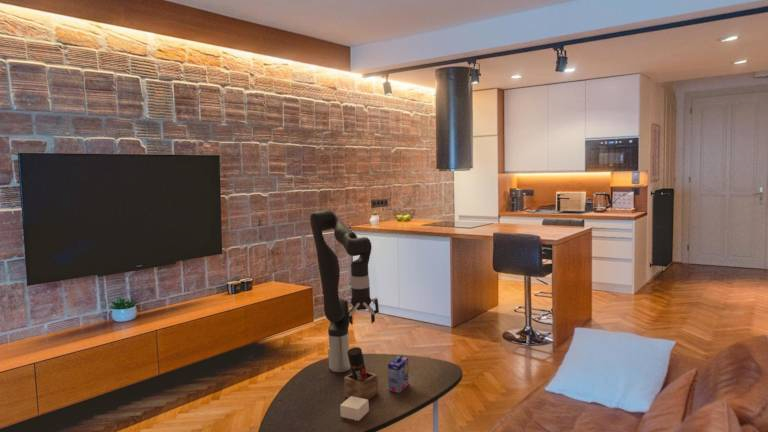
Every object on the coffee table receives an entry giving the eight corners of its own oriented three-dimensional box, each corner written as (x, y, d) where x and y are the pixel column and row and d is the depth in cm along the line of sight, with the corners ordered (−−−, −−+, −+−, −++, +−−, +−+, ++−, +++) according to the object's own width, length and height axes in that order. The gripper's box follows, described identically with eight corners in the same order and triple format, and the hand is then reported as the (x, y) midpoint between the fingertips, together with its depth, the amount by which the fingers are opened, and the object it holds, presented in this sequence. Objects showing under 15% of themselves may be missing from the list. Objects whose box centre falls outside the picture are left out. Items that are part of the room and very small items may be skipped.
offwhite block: (340, 417, 206) (340, 405, 205) (351, 407, 213) (350, 396, 212) (358, 421, 202) (357, 409, 201) (368, 411, 209) (368, 399, 208)
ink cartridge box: (399, 393, 222) (398, 360, 220) (388, 391, 225) (386, 358, 223) (409, 383, 231) (408, 352, 229) (398, 381, 234) (396, 350, 232)
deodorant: (356, 388, 219) (349, 356, 215) (352, 381, 224) (345, 350, 220) (370, 383, 221) (363, 351, 217) (365, 376, 226) (358, 345, 222)
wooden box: (344, 396, 223) (343, 377, 221) (361, 387, 230) (360, 368, 229) (362, 403, 216) (361, 383, 215) (378, 393, 224) (377, 374, 222)
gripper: (343, 289, 215) (345, 327, 217) (378, 287, 216) (379, 325, 218) (343, 284, 222) (344, 321, 225) (376, 282, 223) (378, 319, 226)
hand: (362, 323), depth 221 cm, fingers open, 8 cm apart
